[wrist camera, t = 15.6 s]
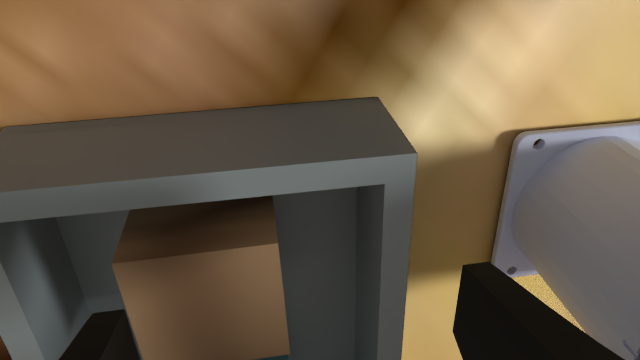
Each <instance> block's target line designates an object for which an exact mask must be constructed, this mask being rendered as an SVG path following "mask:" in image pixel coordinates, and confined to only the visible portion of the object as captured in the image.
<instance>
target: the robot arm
mask: <svg viewBox="0 0 640 360" xmlns="http://www.w3.org/2000/svg"><path fill="white" fill-rule="evenodd" d="M538 139H540V141H539V143H538V144H537V145H535V146H533V144H534V142H535V141H536V140H538ZM510 267H511V268H510ZM509 268H510V269H509ZM535 274H539V275H540V276H541V277H542V278H543V280H544V281H545V282H546V283H547V285H548V286H549V287H550V288H551V290H552V291H553V292H554V293H555V295H556V296H557V297H558V298H559V300H560V301H561V302H562V303H563V305H564V306H565V307H566V308H567V309H568V311H569V312H570V313H571V314H572V316H573V317H574V318H575V319H576V321H577V322H578V323H579V324H580V326H581V327H582V328H583V329H584V331H585V332H586V333H587V334H588V335H587V334H586V333H584V332H583V331H582V330H580V329H579V328H577V327H576V326H575V325H573V324H572V323H570V322H569V321H568V320H566V319H565V318H563V317H562V316H561V315H559V314H558V313H557V312H555V311H554V310H553V309H551V308H550V307H549V306H547V305H546V304H545V303H543V302H542V301H541V300H539V299H538V298H537V297H535V296H534V295H533V294H531V293H530V292H529V291H527V290H526V289H525V288H523V287H522V286H521V285H519V284H518V283H517V282H516V281H514V280H513V279H512V278H511V277H519V276H527V275H535ZM453 333H454V336H455V339H456V342H457V344H458V347H459V350H460V353H461V355H462V358H463V360H640V121H634V122H623V123H612V124H601V125H590V126H580V127H569V128H558V129H547V130H536V131H526V132H522V133H520V134H519V135H517V137H516V138H515V139H514V142H513V146H512V151H511V157H510V162H509V168H508V173H507V178H506V184H505V189H504V194H503V200H502V205H501V211H500V216H499V221H498V227H497V232H496V237H495V243H494V248H493V254H492V259H491V263H490V262H484V263H476V264H468V265H463V267H462V274H461V280H460V287H459V294H458V300H457V307H456V313H455V320H454V326H453ZM59 360H140V357H139V354H138V351H137V348H136V344H135V341H134V338H133V335H132V332H131V328H130V325H129V322H128V319H127V316H126V312H125V309H121V310H113V311H105V312H98V313H93V314H92V315H91V316H90V317H89V318H88V320H87V321H86V323H85V324H84V325H83V327H82V328H81V329H80V331H79V332H78V334H77V335H76V336H75V338H74V339H73V340H72V342H71V343H70V345H69V346H68V347H67V349H66V350H65V351H64V353H63V354H62V356H61V357H60V358H59Z"/></svg>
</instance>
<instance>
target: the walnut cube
mask: <svg viewBox="0 0 640 360" xmlns="http://www.w3.org/2000/svg"><path fill="white" fill-rule="evenodd" d="M111 265H112V268H113V271H114V274H115V277H116V280H117V283H118V286H119V289H120V292H121V295H122V298H123V301H124V304H125V307H126V310H127V313H128V316H129V319H130V322H131V325H132V328H133V331H134V334H135V337H136V340H137V343H138V346H139V349H140V352H141V355H142V358H143V360H253V359H260V358H267V357H273V356H280V355H287V354H290V347H289V338H288V329H287V320H286V311H285V301H284V292H283V283H282V274H281V265H280V256H279V246H278V238H277V229H276V221H275V213H274V204H273V196H272V195H270V196H260V197H250V198H240V199H231V200H221V201H211V202H201V203H191V204H181V205H171V206H161V207H151V208H141V209H131V210H130V211H129V214H128V217H127V220H126V222H125V225H124V228H123V231H122V234H121V237H120V240H119V243H118V246H117V249H116V252H115V255H114V258H113V260H112V263H111Z"/></svg>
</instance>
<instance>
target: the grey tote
mask: <svg viewBox="0 0 640 360" xmlns="http://www.w3.org/2000/svg"><path fill="white" fill-rule="evenodd" d="M416 164H417V152H416V150H415V149H414V148H413V146H412V145H411V143H410V142H409V141H408V139H407V138H406V136H405V135H404V133H403V132H402V131H401V129H400V128H399V126H398V125H397V123H396V122H395V121H394V119H393V118H392V116H391V115H390V114H389V112H388V111H387V109H386V108H385V106H384V105H383V104H382V102H381V101H380V99H379V98H378V97H371V98H359V99H346V100H334V101H321V102H309V103H296V104H284V105H272V106H259V107H247V108H234V109H222V110H209V111H197V112H185V113H172V114H160V115H147V116H135V117H122V118H110V119H98V120H85V121H73V122H60V123H48V124H36V125H23V126H11V127H4V128H3V129H2V130H1V131H0V336H1V338H2V340H3V342H4V344H5V346H6V348H7V350H8V352H9V354H10V356H11V358H12V360H59V358H60V357H61V356H62V354H63V353H64V351H65V350H66V349H67V347H68V346H69V345H70V343H71V342H72V340H73V339H74V338H75V336H76V335H77V334H78V332H79V331H80V329H81V328H82V327H83V325H84V324H85V323H86V321H87V320H88V318H89V317H90V316H91V315H92V314H93V313H98V312H105V311H113V310H121V309H125V312H126V316H127V319H128V322H129V325H130V328H131V332H132V335H133V338H134V341H135V344H136V348H137V351H138V354H139V357H140V360H143V358H142V355H141V352H140V349H139V346H138V343H137V340H136V337H135V334H134V331H133V328H132V325H131V322H130V319H129V316H128V313H127V310H126V307H125V304H124V301H123V298H122V295H121V292H120V289H119V286H118V283H117V280H116V277H115V274H114V271H113V268H112V265H111V263H112V260H113V258H114V255H115V252H116V249H117V246H118V243H119V240H120V237H121V234H122V231H123V228H124V225H125V222H126V220H127V217H128V214H129V211H130V210H131V209H141V208H151V207H161V206H171V205H181V204H191V203H201V202H211V201H221V200H231V199H240V198H250V197H260V196H270V195H272V196H273V204H274V213H275V221H276V229H277V238H278V246H279V256H280V265H281V274H282V283H283V292H284V301H285V311H286V320H287V329H288V338H289V347H290V354H288V360H401V354H402V341H403V329H404V316H405V303H406V291H407V278H408V265H409V253H410V240H411V227H412V215H413V202H414V189H415V177H416Z"/></svg>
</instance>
